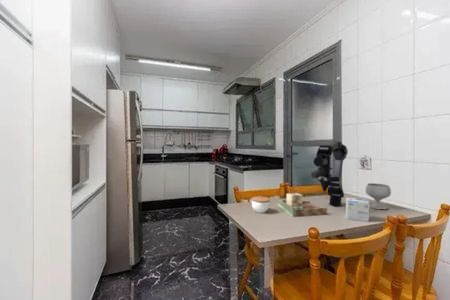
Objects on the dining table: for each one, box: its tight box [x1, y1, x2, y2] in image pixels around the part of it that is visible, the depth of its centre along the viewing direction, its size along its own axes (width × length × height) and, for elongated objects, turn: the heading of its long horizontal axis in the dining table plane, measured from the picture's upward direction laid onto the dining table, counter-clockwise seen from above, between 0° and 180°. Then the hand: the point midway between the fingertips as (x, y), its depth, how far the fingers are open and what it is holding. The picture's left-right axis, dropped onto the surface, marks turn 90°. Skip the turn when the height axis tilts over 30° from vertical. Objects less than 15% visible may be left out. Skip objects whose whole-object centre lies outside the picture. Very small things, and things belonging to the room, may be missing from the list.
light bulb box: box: [345, 197, 370, 223], centre depth 130 cm, size 11×7×11 cm, turn 71°
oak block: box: [285, 192, 304, 207], centre depth 141 cm, size 7×6×8 cm
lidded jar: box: [251, 195, 271, 214], centre depth 140 cm, size 11×11×9 cm
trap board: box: [277, 199, 328, 217], centre depth 142 cm, size 22×17×5 cm
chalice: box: [365, 182, 392, 210], centre depth 155 cm, size 14×14×15 cm
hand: (324, 191), depth 144 cm, fingers closed
